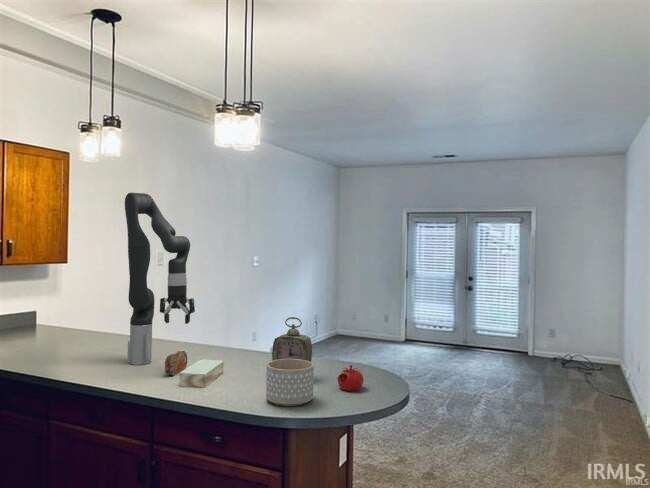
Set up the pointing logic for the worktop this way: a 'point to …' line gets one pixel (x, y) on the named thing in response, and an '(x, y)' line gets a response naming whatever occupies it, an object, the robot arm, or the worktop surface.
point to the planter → (289, 381)
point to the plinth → (201, 373)
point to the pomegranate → (350, 379)
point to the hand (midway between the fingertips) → (177, 323)
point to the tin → (176, 363)
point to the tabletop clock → (292, 345)
